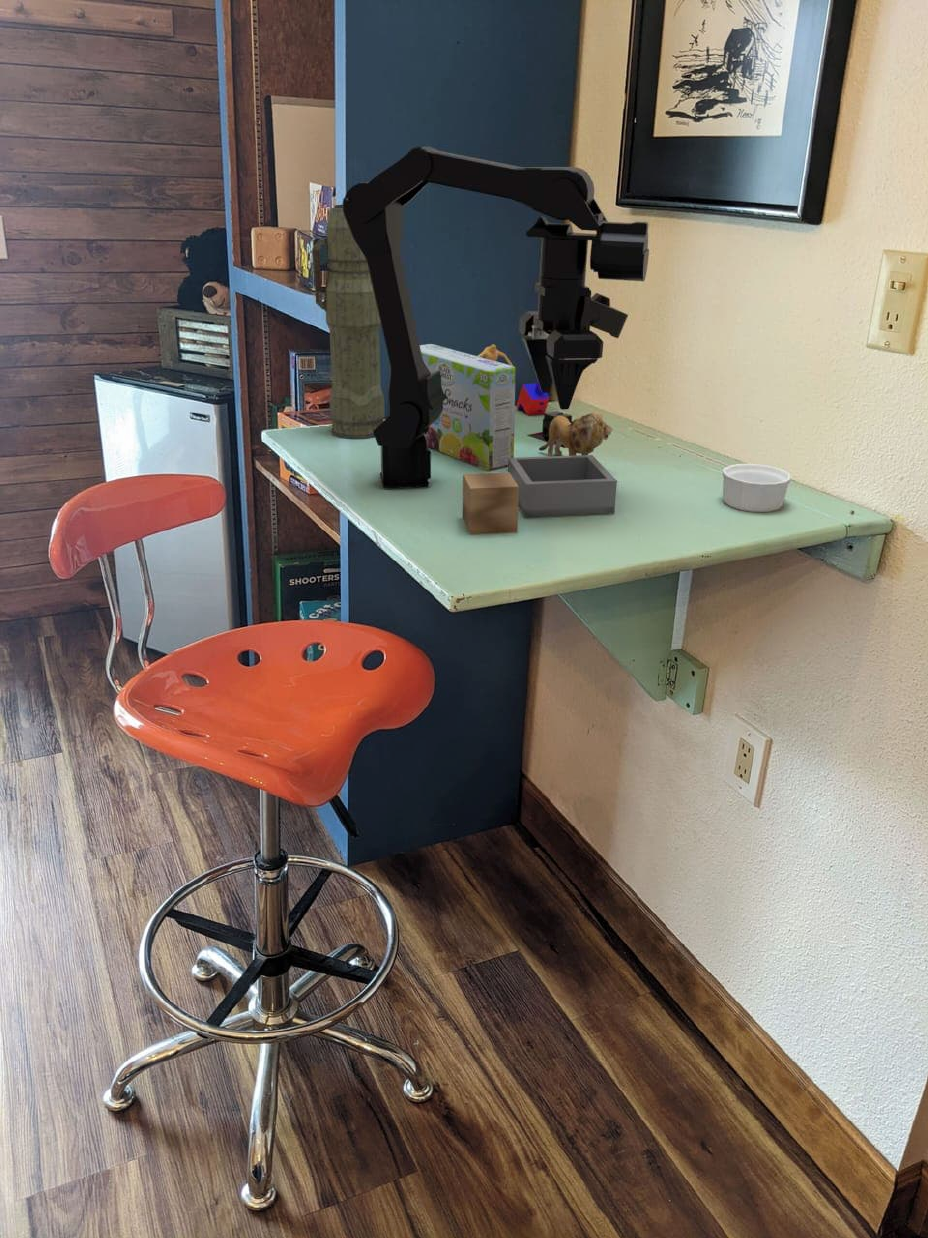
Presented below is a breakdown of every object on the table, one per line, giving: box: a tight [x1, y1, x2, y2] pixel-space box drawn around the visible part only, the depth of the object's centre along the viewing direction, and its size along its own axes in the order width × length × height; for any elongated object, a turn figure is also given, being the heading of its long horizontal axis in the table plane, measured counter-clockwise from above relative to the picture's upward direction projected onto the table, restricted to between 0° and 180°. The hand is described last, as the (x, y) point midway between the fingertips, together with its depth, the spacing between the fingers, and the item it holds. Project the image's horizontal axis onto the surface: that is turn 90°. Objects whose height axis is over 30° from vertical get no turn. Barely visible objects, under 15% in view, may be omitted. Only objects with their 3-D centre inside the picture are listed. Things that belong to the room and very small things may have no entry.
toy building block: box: [515, 380, 551, 416], centre depth 179 cm, size 4×4×8 cm
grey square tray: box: [507, 454, 618, 519], centre depth 135 cm, size 12×12×4 cm
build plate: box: [526, 410, 574, 449], centre depth 164 cm, size 12×7×5 cm, turn 38°
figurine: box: [477, 343, 514, 366], centre depth 177 cm, size 8×6×12 cm
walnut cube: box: [462, 471, 519, 535], centre depth 126 cm, size 6×6×6 cm
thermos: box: [311, 204, 386, 440], centre depth 160 cm, size 9×12×35 cm
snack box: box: [419, 343, 517, 472], centre depth 154 cm, size 21×6×15 cm, turn 37°
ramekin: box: [722, 463, 792, 513], centre depth 136 cm, size 9×9×4 cm
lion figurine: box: [538, 412, 613, 456], centre depth 150 cm, size 15×5×9 cm, turn 34°
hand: (554, 400), depth 133 cm, fingers open, 9 cm apart
